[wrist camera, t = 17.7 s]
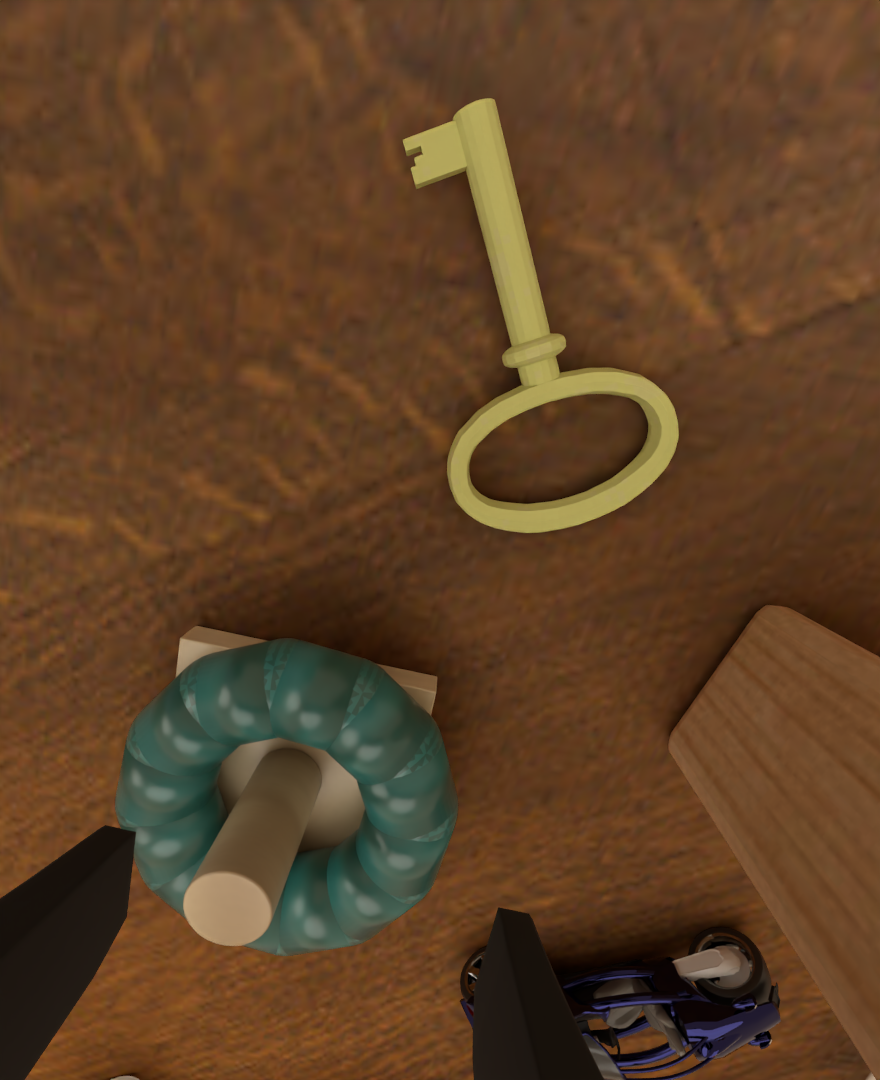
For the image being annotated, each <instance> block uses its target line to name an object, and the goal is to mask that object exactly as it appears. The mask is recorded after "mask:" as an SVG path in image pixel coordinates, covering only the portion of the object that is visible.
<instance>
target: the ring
mask: <svg viewBox="0 0 880 1080" xmlns="http://www.w3.org/2000/svg"><path fill="white" fill-rule="evenodd" d="M274 738H282V739H286V740H289V741H293V742H296V743H300V744H303V745H307V746H310V747H314V748H317V749H321V750H324V751H326V752H327V753H328V754H329V755H330V756H331V757H332V758H333V759H334V760H335V761H337V762H338V763H339V764H340V765H341V766H342V767H343V768H344V769H345V770H346V771H347V772H348V773H350V774H351V775H352V776H353V777H354V778H355V779H356V780H357V783H358V787H359V790H360V793H361V796H362V800H363V803H364V806H365V810H364V813H363V817H362V820H361V823H360V826H359V829H357V830H356V831H355V832H354V833H352V834H351V835H350V836H349V837H348V838H346V839H345V840H344V841H343V842H341V843H340V844H339V845H338V846H333V847H327V848H322V849H316V850H311V851H305V852H297V853H296V856H295V859H294V861H293V864H292V867H291V870H290V872H289V875H288V878H287V880H286V883H285V886H284V889H283V891H282V894H281V897H280V899H279V902H278V905H277V908H276V910H275V913H274V916H273V918H272V921H271V924H270V926H269V927H268V929H267V930H266V932H265V933H264V934H263V935H262V936H261V937H259V938H258V939H256V940H255V941H253V942H251V943H248V944H245V945H241V946H245V947H249V948H253V949H256V950H260V951H264V952H267V953H271V954H275V955H280V956H293V955H299V954H305V953H311V952H317V951H323V950H329V949H335V948H341V947H348V946H354V945H357V944H361V943H363V942H365V941H367V940H369V939H370V938H372V937H373V936H375V935H376V934H377V933H379V932H380V931H381V930H383V929H384V928H385V927H387V926H388V925H389V924H391V923H392V922H393V921H394V920H396V919H397V918H398V917H400V916H401V915H402V914H404V913H405V912H406V911H408V910H409V909H410V908H411V907H413V906H414V905H415V904H417V903H418V902H419V901H420V900H422V899H423V898H424V897H425V896H426V894H427V893H428V892H429V891H430V889H431V887H432V886H433V884H434V881H435V879H436V877H437V874H438V872H439V869H440V866H441V863H442V860H443V858H444V855H445V852H446V849H447V847H448V844H449V841H450V838H451V835H452V833H453V830H454V827H455V824H456V820H457V815H458V797H457V792H456V788H455V784H454V781H453V777H452V773H451V769H450V765H449V761H448V758H447V754H446V750H445V746H444V742H443V738H442V735H441V732H440V730H439V727H438V725H437V724H436V722H435V720H434V719H433V718H432V716H431V715H430V714H429V713H428V712H427V711H426V710H425V709H424V708H423V707H422V706H421V705H420V704H419V703H418V702H417V701H415V700H414V699H413V698H412V697H411V696H410V695H409V694H408V693H407V692H406V691H405V690H404V689H403V688H402V687H401V686H400V685H399V684H398V683H397V682H396V681H395V680H394V679H393V678H392V677H391V676H390V675H389V674H388V673H387V672H386V671H385V670H384V669H382V668H381V667H380V666H379V665H377V664H376V663H374V662H372V661H370V660H368V659H365V658H361V657H358V656H355V655H351V654H348V653H344V652H341V651H337V650H334V649H330V648H327V647H324V646H320V645H317V644H313V643H310V642H306V641H303V640H299V639H293V638H281V639H276V640H271V641H266V642H261V643H257V644H252V645H247V646H243V647H238V648H233V649H229V650H224V651H219V652H215V653H211V654H208V655H205V656H202V657H201V658H199V659H197V660H195V661H194V662H192V663H191V664H190V665H189V666H187V667H186V668H185V669H184V670H183V671H182V672H181V673H180V674H179V675H178V676H177V677H176V678H175V679H174V680H173V681H172V682H171V683H170V684H169V685H168V686H167V687H165V688H164V689H163V690H162V691H161V692H160V693H159V694H158V695H157V696H156V697H155V698H154V699H153V700H152V701H151V702H150V703H149V704H148V705H147V706H146V707H145V708H144V709H143V710H142V711H141V712H140V713H139V714H138V716H137V717H136V718H135V720H134V721H133V723H132V725H131V727H130V730H129V732H128V736H127V740H126V745H125V750H124V755H123V761H122V766H121V771H120V776H119V782H118V787H117V792H116V798H115V811H116V815H117V819H118V822H119V824H120V827H121V829H125V830H130V831H134V832H136V837H135V846H134V855H133V858H134V860H135V863H136V865H137V868H138V870H139V872H140V875H141V877H142V879H143V881H144V882H145V884H146V885H147V886H148V887H149V888H150V889H151V890H152V891H153V892H154V893H155V894H156V895H157V896H159V897H160V898H161V899H162V900H163V901H165V902H166V903H167V904H168V905H170V906H171V907H172V908H173V909H174V910H176V911H177V912H178V913H179V914H180V915H182V916H183V917H184V918H185V919H186V917H185V914H184V909H183V900H184V895H185V892H186V890H187V888H188V886H189V884H190V883H191V881H192V879H193V877H194V876H195V874H196V872H197V870H198V869H199V867H200V865H201V863H202V862H203V860H204V858H205V856H206V855H207V853H208V851H209V849H210V848H211V846H212V844H213V842H214V841H215V839H216V837H217V835H218V834H219V832H220V830H221V828H222V827H223V825H224V823H225V821H226V820H227V818H228V816H229V814H228V812H227V810H226V807H225V804H224V802H223V799H222V796H221V793H220V791H219V788H218V785H217V782H218V778H219V774H220V769H221V765H222V761H224V760H225V759H226V758H227V757H228V756H229V755H230V754H231V753H232V752H234V751H235V750H236V749H237V748H238V747H239V746H240V745H244V744H249V743H254V742H259V741H264V740H269V739H274Z"/></svg>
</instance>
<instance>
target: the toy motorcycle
mask: <svg viewBox="0 0 880 1080" xmlns="http://www.w3.org/2000/svg"><path fill="white" fill-rule="evenodd" d="M485 951H486V947H484V948H482V949H480V950H478V951H477V952H475V953H474V954H473V955H472V956H471V957H470V958H469V959H468V961H467V962H466V964H465V966H464V968H463V970H462V973H461V979H460V985H461V991H462V995H463V997H464V998H463V999H461V1000H460V1002H461V1005H462V1007H463V1009H464V1011H465V1013H466V1015H467V1018H468V1020H469V1022H470V1024H471V1026H472V1028H473V1015H474V987H475V984H476V981H477V977H478V974H479V971H480V967H481V964H482V961H483V957H484V954H485ZM751 966H752V972H751V971H750V967H751ZM556 978H557V980H558V983H559V985H560V987H561V990H562V992H563V994H564V996H565V999H566V1001H567V1003H568V1005H569V1008H570V1010H571V1012H572V1014H573V1016H574V1018H575V1020H576V1022H577V1025H578V1027H579V1029H580V1031H581V1033H582V1035H583V1037H584V1039H585V1041H586V1044H587V1046H588V1048H589V1050H590V1052H591V1054H592V1056H593V1058H594V1060H595V1062H596V1064H597V1066H598V1068H599V1070H600V1072H601V1074H602V1076H603V1078H604V1080H673V1079H676V1078H680V1077H683V1076H686V1075H688V1074H690V1073H693V1072H695V1071H696V1070H698V1069H700V1068H702V1067H703V1066H705V1065H706V1064H708V1063H709V1062H710V1061H711V1060H714V1059H720V1058H724V1057H726V1056H728V1055H729V1054H731V1053H733V1052H734V1051H736V1050H738V1049H739V1048H741V1047H742V1046H744V1045H746V1044H747V1043H748V1044H749V1045H752V1046H760V1048H761V1049H764V1048H767V1047H768V1046H769V1045H770V1044H771V1041H772V1039H771V1035H770V1033H769V1031H768V1030H770V1029H771V1028H772V1027H774V1026H775V1025H777V1024H778V1023H779V1022H781V1021H780V1013H779V1004H780V999H779V996H778V984H777V982H776V986H773V985H772V986H771V978H770V974H769V971H768V968H767V966H766V963H765V961H764V959H763V957H762V955H761V952H760V951H759V949H758V948H757V947H756V945H755V944H754V943H753V942H752V941H751V940H750V939H749V938H748V937H747V936H745V935H744V934H742V933H741V932H738V931H736V930H734V929H730V928H725V927H716V928H711V929H708V930H705V931H703V932H701V933H700V934H699V935H698V936H697V937H696V938H695V939H694V940H693V942H692V944H691V946H690V948H689V953H688V956H687V957H684V958H680V959H677V960H675V959H673V958H671V957H660V958H651V959H646V960H637V959H635V960H631V961H626V962H622V963H618V964H613V965H609V966H605V967H600V968H596V969H592V970H586V971H580V972H575V973H569V974H563V975H558V976H556ZM691 981H694V982H695V984H696V986H697V988H698V989H697V988H696V987H695V986H694V985H693V984H692V983H691ZM642 1010H644V1014H645V1015H644V1016H642V1017H640V1018H638V1019H636V1018H637V1017H638V1016H639V1014H640V1013H641V1012H642ZM591 1019H603V1021H604V1022H606V1024H607V1025H609V1026H610V1028H608V1029H604V1030H590V1028H589V1026H588V1022H587V1020H591ZM651 1026H652V1027H653V1028H654V1029H656V1030H658V1031H661V1032H664V1033H665V1034H666V1036H667V1039H668V1042H667V1043H665V1044H663V1045H661V1046H658V1047H656V1048H653V1049H650V1050H646V1051H642V1052H636V1053H629V1054H620V1046H619V1042H618V1039H621V1038H624V1037H627V1036H630V1035H633V1034H635V1033H638V1032H641V1031H643V1030H645V1029H647V1028H649V1027H651ZM600 1043H605V1044H606V1045H608V1046H611V1047H612V1048H614V1046H615V1045H617V1049H618V1054H609V1052H608V1051H607V1050H606V1049H605V1048H604V1047H603V1046H602V1045H601V1044H600ZM686 1047H689V1049H690V1051H688V1052H687V1053H686V1052H685V1048H686ZM677 1053H678V1055H679V1056H680V1057H679V1058H678V1059H676V1060H673V1061H671V1062H669V1063H666V1064H663V1065H659V1066H655V1067H650V1068H642V1069H620V1068H622V1067H635V1066H643V1065H647V1064H652V1063H655V1062H658V1061H661V1060H664V1059H666V1058H669V1057H671V1056H673V1055H675V1054H677ZM692 1054H694V1055H695V1057H696V1059H698V1060H699V1061H701V1063H699V1064H698V1065H696V1066H694V1067H692V1068H690V1069H688V1070H686V1071H683V1072H680V1073H678V1074H674V1075H670V1076H665V1077H657V1078H626V1076H625V1075H624V1074H632V1073H646V1072H653V1071H658V1070H662V1069H665V1068H668V1067H671V1066H674V1065H676V1064H678V1063H680V1062H681V1061H683V1060H685V1059H686V1058H688V1057H689V1056H691V1055H692Z"/></svg>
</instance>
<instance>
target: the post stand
mask: <svg viewBox="0 0 880 1080" xmlns="http://www.w3.org/2000/svg"><path fill="white" fill-rule="evenodd" d="M266 641H267V640H262V639H257V638H252V637H248V636H243V635H238V634H234V633H229V632H224V631H219V630H215V629H210V628H205V627H200V626H195V627H193V628H192V629H191V630H190V631H188V632H187V633H186V634H185V635H183V636H182V637H181V638H180V643H179V652H178V661H177V670H176V677H177V676H178V675H179V674H180V673H181V672H182V671H183V670H184V669H185V668H186V667H187V666H189V665H190V664H191V663H192V662H194V661H195V660H197V659H199V658H201V657H202V656H205V655H208V654H211V653H215V652H219V651H224V650H229V649H233V648H238V647H243V646H247V645H252V644H257V643H261V642H266ZM377 665H379V666H380V667H381V668H382V669H384V670H385V671H386V672H387V673H388V674H389V675H390V676H391V677H392V678H393V679H394V680H395V681H396V682H397V683H398V684H399V685H400V686H401V687H402V688H403V689H404V690H405V691H406V692H407V693H408V694H409V695H410V696H411V697H412V698H413V699H414V700H415V701H417V702H418V703H419V704H420V705H421V706H422V707H423V708H424V709H425V710H426V711H427V712H428V713H429V714H430V715H431V713H432V709H433V705H434V700H435V696H436V690H437V677H436V676H432V675H428V674H423V673H418V672H414V671H409V670H404V669H399V668H395V667H390V666H385V665H380V664H377ZM217 785H218V788H219V791H220V793H221V796H222V799H223V802H224V804H225V807H226V810H227V812H228V814H229V816H228V818H227V820H226V821H225V823H224V825H223V827H222V828H221V830H220V832H219V834H218V835H217V837H216V839H215V841H214V842H213V844H212V846H211V848H210V849H209V851H208V853H207V855H206V856H205V858H204V860H203V862H202V863H201V865H200V867H199V869H198V870H197V872H196V874H195V876H194V877H193V879H192V881H191V883H190V884H189V886H188V888H187V890H186V892H185V895H184V900H183V909H184V914H185V917H186V919H187V921H188V923H189V924H190V926H191V927H192V928H193V929H194V930H195V931H196V932H197V933H198V934H199V935H200V936H202V937H203V938H205V939H207V940H209V941H211V942H213V943H216V944H220V945H225V946H240V945H245V944H248V943H251V942H253V941H255V940H256V939H258V938H259V937H261V936H262V935H263V934H264V933H265V932H266V930H267V929H268V927H269V926H270V924H271V921H272V918H273V916H274V913H275V910H276V908H277V905H278V902H279V899H280V897H281V894H282V891H283V889H284V886H285V883H286V880H287V878H288V875H289V872H290V870H291V867H292V864H293V861H294V859H295V856H296V853H297V852H305V851H311V850H316V849H322V848H327V847H333V846H338V845H339V844H340V843H341V842H343V841H344V840H345V839H346V838H348V837H349V836H350V835H351V834H352V833H354V832H355V831H356V830H357V829H359V826H360V823H361V820H362V817H363V813H364V810H365V806H364V803H363V800H362V796H361V793H360V790H359V787H358V783H357V780H356V779H355V778H354V777H353V776H352V775H351V774H350V773H348V772H347V771H346V770H345V769H344V768H343V767H342V766H341V765H340V764H339V763H338V762H337V761H335V760H334V759H333V758H332V757H331V756H330V755H329V754H328V753H327V752H326V751H324V750H321V749H317V748H314V747H310V746H307V745H303V744H300V743H296V742H293V741H289V740H286V739H282V738H274V739H269V740H264V741H259V742H254V743H249V744H244V745H240V746H239V747H238V748H237V749H236V750H235V751H234V752H232V753H231V754H230V755H229V756H228V757H227V758H226V759H225V760H224V761H222V765H221V769H220V774H219V778H218V782H217Z"/></svg>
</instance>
